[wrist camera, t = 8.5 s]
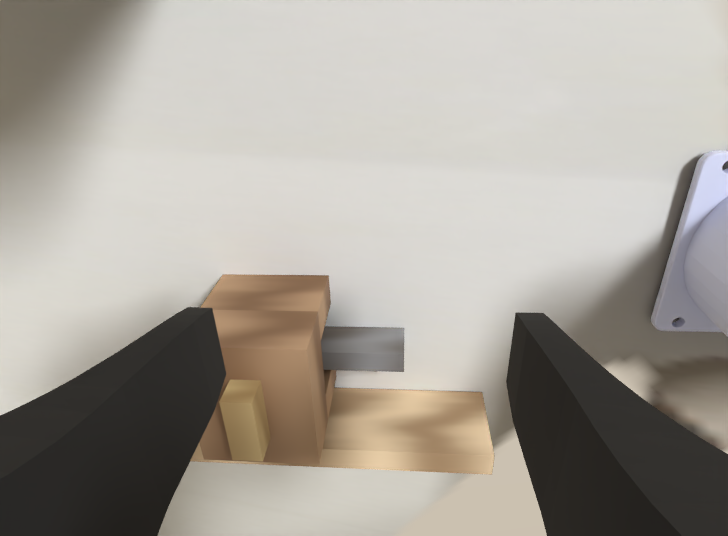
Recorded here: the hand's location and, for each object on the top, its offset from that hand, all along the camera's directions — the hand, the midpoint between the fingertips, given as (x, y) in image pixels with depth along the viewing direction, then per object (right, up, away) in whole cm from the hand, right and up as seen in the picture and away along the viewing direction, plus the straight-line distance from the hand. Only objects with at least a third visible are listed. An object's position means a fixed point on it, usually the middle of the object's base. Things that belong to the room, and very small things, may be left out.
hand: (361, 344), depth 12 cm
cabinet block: (-4, -1, +12) cm, 13 cm away
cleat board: (-3, -3, +13) cm, 14 cm away
